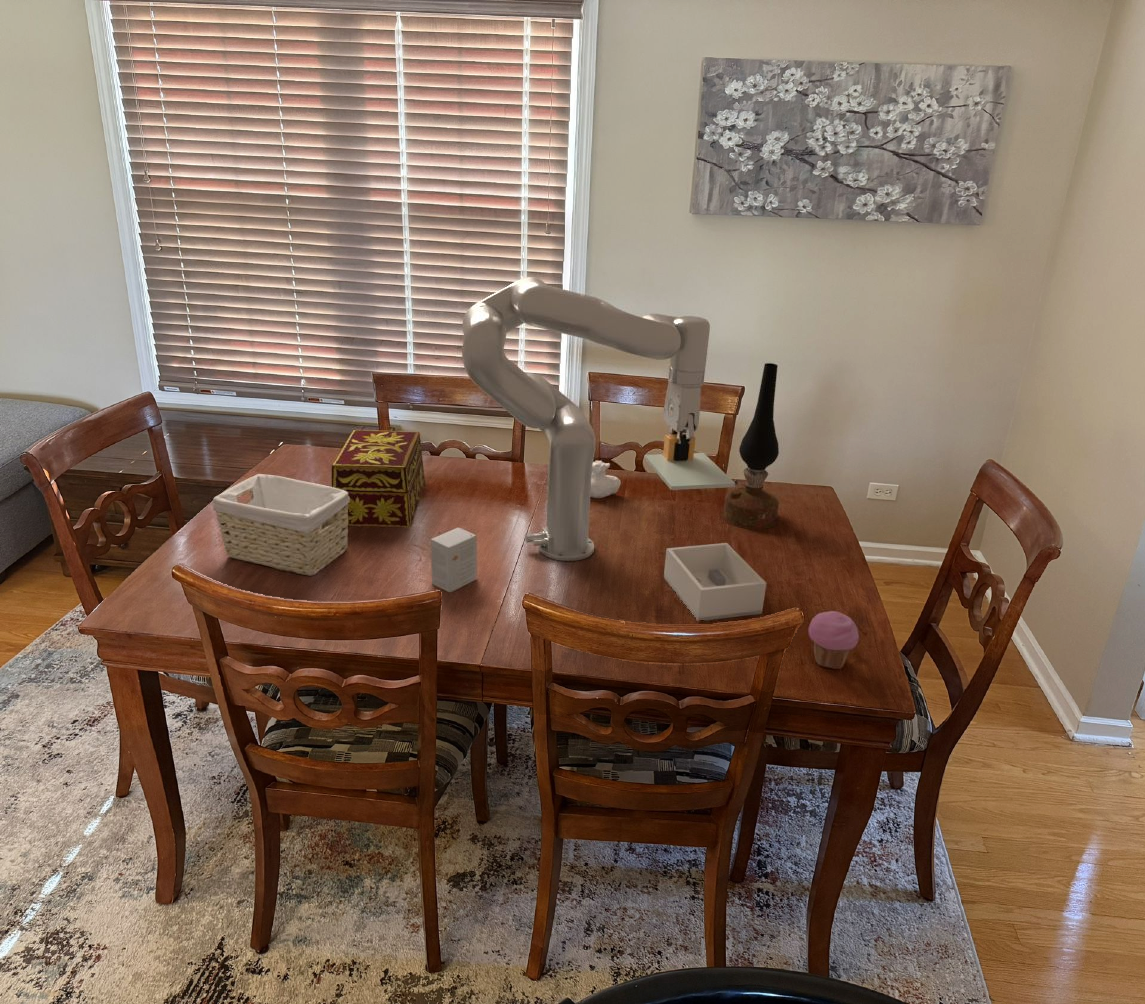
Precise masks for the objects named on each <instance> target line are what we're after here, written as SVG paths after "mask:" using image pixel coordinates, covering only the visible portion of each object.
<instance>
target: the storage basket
mask: <svg viewBox="0 0 1145 1004" xmlns="http://www.w3.org/2000/svg"><path fill="white" fill-rule="evenodd" d="M248 493H249V496H250V498H251V500H249V501H248V502H247V503H241V502H238V499H240V498H241V497H242V496H244V495H246V494H248ZM212 499H213V500H212V509H213V511H214V512H215V514H216V519H217V521H218V525H219V528H220V529H219V530H220V533H221V537H222V542H223V546H224V549H225V554H226V556H227V557H230V558H232V559H236V560H238V561H239V560H240V561H244V562H250V563H254V564H258V565H263V566H266V567H271V568H273V569H277V570H280V571H286V572H292V573H296V574H299V575H300V574H301V575H305V576H314V575H316V574H317V573H319V572H320V571H321V570H323V569H325V568H326V566H328V565H329V564H330V563H332V562H333V561H335V560H336V559H337V558H338V557H339V556H342V554H344V552H345V551H346V550H347V548H348V533H349V529H348V527H349V526H348V519H347V518H348V514H347V513H348V503H349V502H350V498H349V496H348V492H346V491H344V490H341V489H337V488H333V487H332V486H328V485H324V484H319V483H313V482H309V481H304V480H300V479H295V478H294V479H293V478H291V477H284V476H281V475H273V474H263V473H262V474H261V473H257V474H255V475H254V476H251V477H249V478H247V479H244V480H242V481H240V482H238V483H236V484H235V485H234V486H231V487H230V488H227V489H226V490H224V491H223V492H222V493H220V494H218V495H216V496H214V498H212Z"/></svg>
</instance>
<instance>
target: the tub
mask: <svg viewBox="0 0 1145 1004" xmlns="http://www.w3.org/2000/svg"><path fill="white" fill-rule="evenodd" d="M663 571H664V573H663V578H664V580H665V581H666V583H667V584H668V585H669V586H670V588H671V587H672V588H671V590H673V592H674V591H675V592H676V593H675V592H674V593H675V595H676V596H677V597H678V596H679V597H680V598H679V597H678V598H679V599H680V601H681V600H682V601H683V602H682V601H681V602H682V603H683V605H684V604H685V605H686V606H687V607H686V606H685V605H684V606H685V607H686V608H687V610H688V609H689V610H690V611H691V612H690V611H689V610H688V611H689V612H690V614H691V613H692V614H691V616H693V615H694V616H693V617H695V618H696V619H695V618H694V619H695V620H696V622H701V621H700V620H705V621H711V620H719V619H728V618H736V617H737V618H738V617H745V616H746V617H747V616H755V615H762V614H763V608H764V601H765V595H766V591H767V582H766V581H765V580H764V578H762V577H761V576H760V575H759V574H758V573H757V572H756V571H755V569H753V568H752V567H751V566H750V565H749V564H748V563H747V561H746V560H745V559H743V558H742V557H741V555H739V553H737V551H736V550H735V549H733V547H732V546H731V545H730V544H729V543H728V542H722V543H713V544H712V543H711V544H701V545H688V546H677V547H668V548H666V551H665V561H664V570H663Z"/></svg>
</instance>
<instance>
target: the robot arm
mask: <svg viewBox="0 0 1145 1004" xmlns="http://www.w3.org/2000/svg"><path fill="white" fill-rule="evenodd" d="M462 319H463V320H462V333H463V342H462V349H461V350H462V351H461V352H462V353H461V358H462V363H463V364H462V365H463V367H464V370H465V372H466V374H467V376H468V378H469V379H470V380H471V381H472V382H473V383H474V385H475V386H477V387H478V388H479V389H480V390H481V391H483V393H485V394H486V395H487V396H489V398H491V399H492V400H493V401H494V402H495V403H497V404H498V405H499V406H500V407H502V408H503V409H504V410H505V411H506V412H508V413H509V414H510V415H511V416H512V417H514V418H515V419H516V421H518V422H519V423H520V424H521V425H523V426H525V427H528V428H531V429H538V430H540V431H541V432H543V434H545V435H546V436H547V440H548V442H549V458H548V459H549V460H548V467H547V468H548V469H547V492H546V493H547V497H546V501H547V502H546V526H544V527H542V531H538V533H525V535H524V541H525V543H527V544H528V543H532V546H533V547H536V546H537V547H538V549H539V552H540V553H541V554H543V555H544V556H546V557H547V558H550V559H554V560H557V561H565V562H573V561H580V560H584V559H587V558H588V557H590V556H591V555H592V554H594V552H595V543H594V542H593V540H592V539H591V538H589V525H590V510H591V509H590V508H591V507H590V506H591V497H590V493H591V475H592V465H593V462H594V460H595V459H594V458H595V452H596V436H595V435H596V434H595V432H594V429H593V427H592V425H591V423H590V421H589V419H587V417H586V415H585V413H584V411H582V409H581V408H580V407H579V406H578V405H576V403H574V402H573V401H572V400H571V399H570V398H568V397H567V396H566V395H565V394H564V393H562V391H560V390H559V389H558V388H556V387H555V386H554V385H553V384H552V383H550V382H549V381H548V380H547V379H546V378H545V377H543V376H541V375H539V374H536V373H532V372H531V373H530V372H529V373H528V372H525V371H523V370H522V369H521V368H520V367H519V366H518V365H517V364H515V363H514V362H513V361H512V360H511V359H509V358H508V357H507V355H506V353H505V344H506V340H507V333H508V332H509V333H510V331H513V330H514V329H516V328H518V327H520V326H522V325H523V324H525V325H529V326H532V327H534V328H539V329H542V330H546V331H547V330H548V331H550V332H555V333H559V334H564V335H568V336H572V337H575V338H580V339H584V340H587V341H590V342H592V343H595V344H599V345H601V346H606V347H608V348H612V349H615V350H618V351H620V352H623V353H627V354H630V355H634V356H639V357H643V358H647V359H651V360H658V361H663V360H668V359H670V361H669V367H668V368H669V370H668V379H667V380H668V381H667V382H668V384H667V388H666V394H665V399H664V406H663V414H662V418H663V421H665V423H666V424H667V425H668V426H669V434H668V435H670V434H677V443H675V449H674V460H675V461H680V460H688V455H689V446H690V443H691V439H693V438H694V437H695V432H696V431H697V430H698V427H699V424H700V422H699V421H700V415H701V414H700V413H701V400H702V399H701V398H702V397H701V393H702V392H701V391H702V387H703V386H704V383H705V373H706V364H707V359H708V356H707V355H708V349H709V348H708V347H709V340H710V330H711V323H710V322H709V321H708V320H707V319H706V318H703V317H701V316H692V315H685V316H680V317H679V316H673V315H666V314H661V313H647V314H644V315H643V316H638V315H636V314H632V313H630V312H626V311H624V310H622V309H620V308H617V307H616V306H614V305H612V304H611V303H608V302H607V301H605V300H604V299H600V298H598V297H596V296H590V295H588V294H584V293H579V292H576V291H575V292H574V291H571V290H566V289H563V288H560V287H556V286H555V287H554V286H553V285H552V286H551V285H548V284H546V283H545V282H544V281H543V280H542V279H541V278H537V277H535V276H534V277H533V276H527V277H524V278H520V279H519V280H516V281H514V282H513V283H511V284H509V285H508V286H506V287H504V288H502V289H500V290H498V291H497V292H495V293H493V294H491V295H489V296H487V297H485V298H484V299H482V300H481V301H478V302H476V303H475V304H473V305H471V307H469V308H468V310H467V311H466V312H465V314H464V316H463V318H462ZM682 434H683V435H682Z"/></svg>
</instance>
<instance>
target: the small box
mask: <svg viewBox="0 0 1145 1004" xmlns="http://www.w3.org/2000/svg"><path fill="white" fill-rule="evenodd" d="M477 538H478V537H477V535H476V534H474V533H473V532H470V531H467V530H465V529H463V528H461V527H456V528H454V529H452V530H449V531H447V532H444V533H442V534H439V535H437V536H435V537H433V538H431V539H430V565H431V569H430V570H431V584H432V585H433V586H435V587H438V588H439V589H442V590H444V591H446V592H447V593H452V592H454V591H456V590H459V589H461V588H462V587H464V586H466V585H468V584H470V583H472V582H474V581H476V580H477V579H478V560H477V559H478V553H477V552H478V549H477V548H478V547H477V544H478V543H477V541H478V540H477Z"/></svg>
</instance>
